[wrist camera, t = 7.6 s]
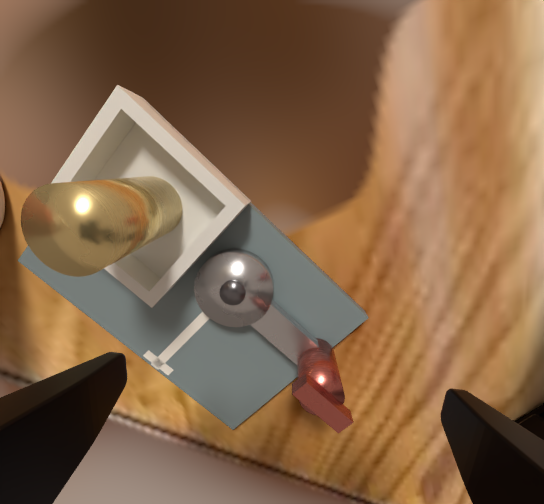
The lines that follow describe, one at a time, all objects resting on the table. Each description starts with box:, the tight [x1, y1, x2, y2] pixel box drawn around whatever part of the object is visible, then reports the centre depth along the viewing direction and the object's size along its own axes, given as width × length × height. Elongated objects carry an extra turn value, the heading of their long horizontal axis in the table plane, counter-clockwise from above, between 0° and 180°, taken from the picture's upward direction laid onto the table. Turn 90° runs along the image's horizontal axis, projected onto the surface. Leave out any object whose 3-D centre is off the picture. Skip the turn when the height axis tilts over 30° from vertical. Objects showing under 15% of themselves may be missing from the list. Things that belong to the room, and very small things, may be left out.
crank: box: [194, 248, 353, 433], centre depth 17 cm, size 12×5×5 cm, turn 47°
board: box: [18, 202, 368, 430], centre depth 20 cm, size 20×14×1 cm
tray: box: [51, 85, 251, 308], centre depth 17 cm, size 8×8×2 cm
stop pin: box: [21, 176, 182, 277], centre depth 14 cm, size 4×4×7 cm
